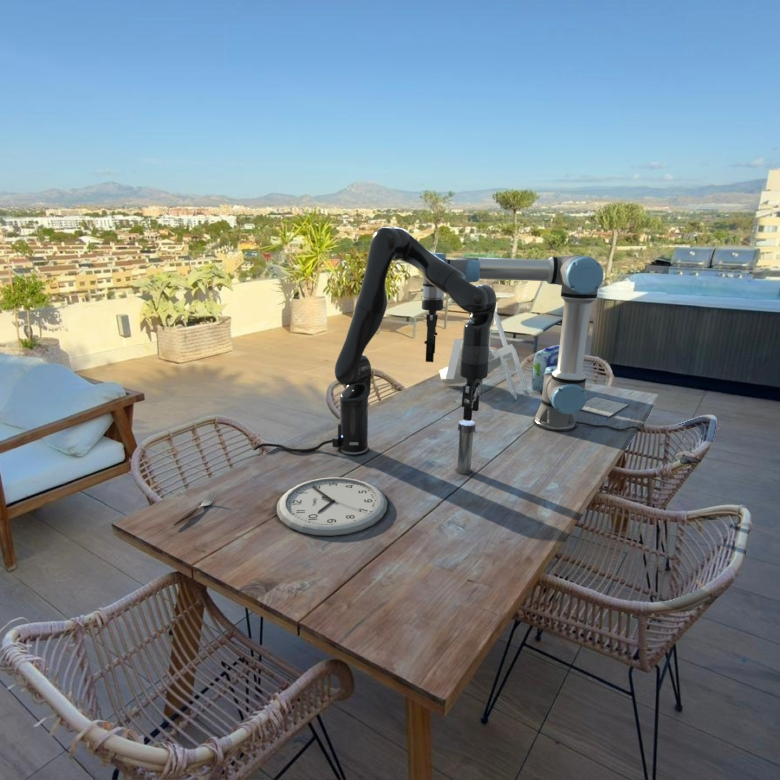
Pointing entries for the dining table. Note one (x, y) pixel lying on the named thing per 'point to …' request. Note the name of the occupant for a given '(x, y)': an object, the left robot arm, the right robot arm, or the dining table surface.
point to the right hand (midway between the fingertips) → (430, 357)
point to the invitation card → (603, 406)
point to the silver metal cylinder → (465, 452)
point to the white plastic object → (495, 359)
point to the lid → (466, 426)
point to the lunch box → (543, 365)
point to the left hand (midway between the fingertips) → (470, 415)
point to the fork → (204, 503)
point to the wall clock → (331, 506)
